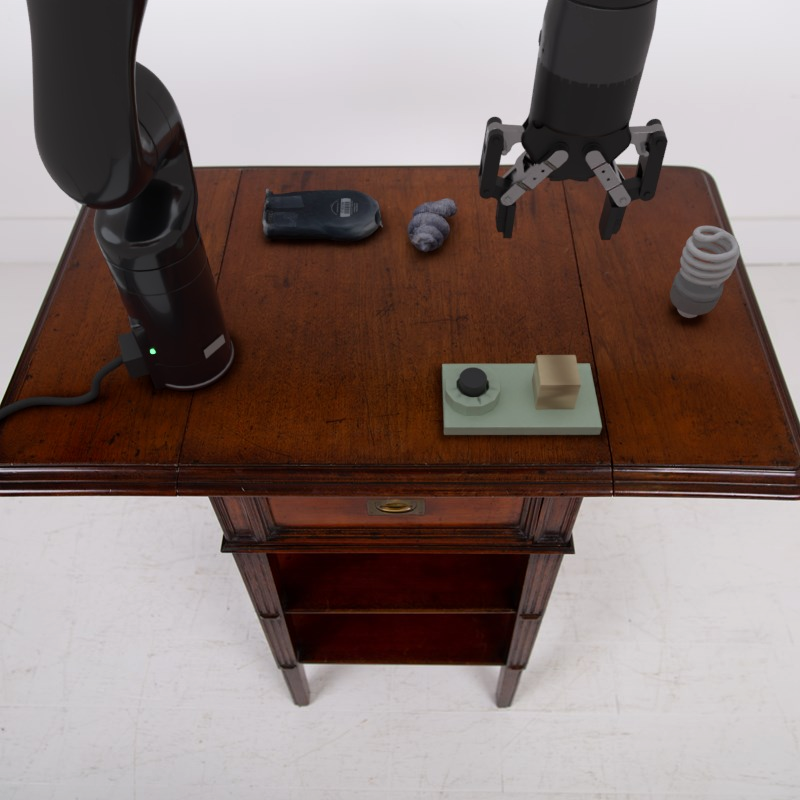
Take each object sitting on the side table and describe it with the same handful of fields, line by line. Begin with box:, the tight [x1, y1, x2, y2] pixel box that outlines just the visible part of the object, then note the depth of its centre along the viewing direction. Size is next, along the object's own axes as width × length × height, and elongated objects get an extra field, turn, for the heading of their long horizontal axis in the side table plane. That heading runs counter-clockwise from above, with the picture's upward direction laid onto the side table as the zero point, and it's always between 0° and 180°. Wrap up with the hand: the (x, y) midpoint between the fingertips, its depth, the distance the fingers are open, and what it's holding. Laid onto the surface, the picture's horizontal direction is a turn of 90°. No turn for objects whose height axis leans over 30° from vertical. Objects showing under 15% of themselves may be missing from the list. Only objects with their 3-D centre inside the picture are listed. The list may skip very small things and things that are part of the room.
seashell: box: [406, 197, 458, 253], centre depth 96 cm, size 5×5×10 cm
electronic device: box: [262, 188, 383, 243], centre depth 98 cm, size 9×6×15 cm
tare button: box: [459, 367, 487, 397], centre depth 78 cm, size 3×3×2 cm
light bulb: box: [669, 225, 741, 319], centre depth 83 cm, size 6×6×12 cm
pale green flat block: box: [441, 362, 603, 436], centre depth 79 cm, size 16×9×3 cm, turn 89°
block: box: [532, 354, 581, 409], centre depth 78 cm, size 4×4×4 cm
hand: (555, 233), depth 66 cm, fingers open, 8 cm apart
